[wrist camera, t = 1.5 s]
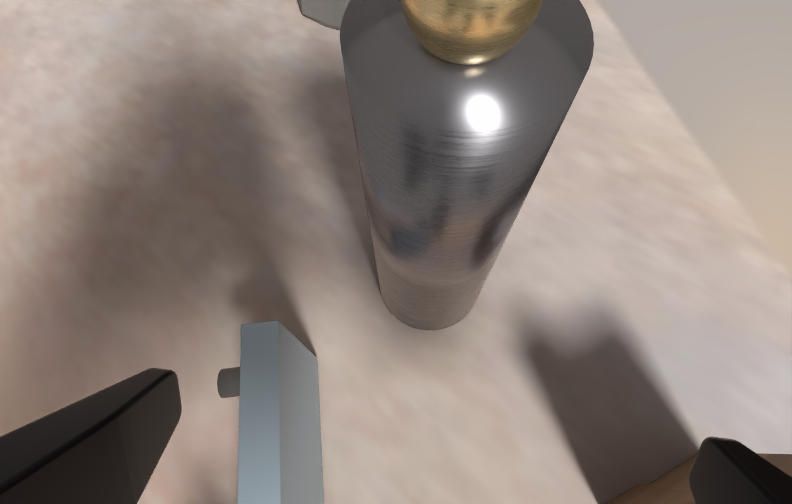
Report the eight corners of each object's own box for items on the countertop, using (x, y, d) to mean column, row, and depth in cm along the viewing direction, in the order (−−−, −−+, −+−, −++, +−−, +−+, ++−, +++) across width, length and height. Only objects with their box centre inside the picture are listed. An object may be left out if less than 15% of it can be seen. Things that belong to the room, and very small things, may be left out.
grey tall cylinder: (497, 302, 22) (724, -49, 6) (407, 348, 21) (414, 75, 6) (447, 222, 24) (529, -206, 8) (363, 261, 23) (274, -130, 7)
